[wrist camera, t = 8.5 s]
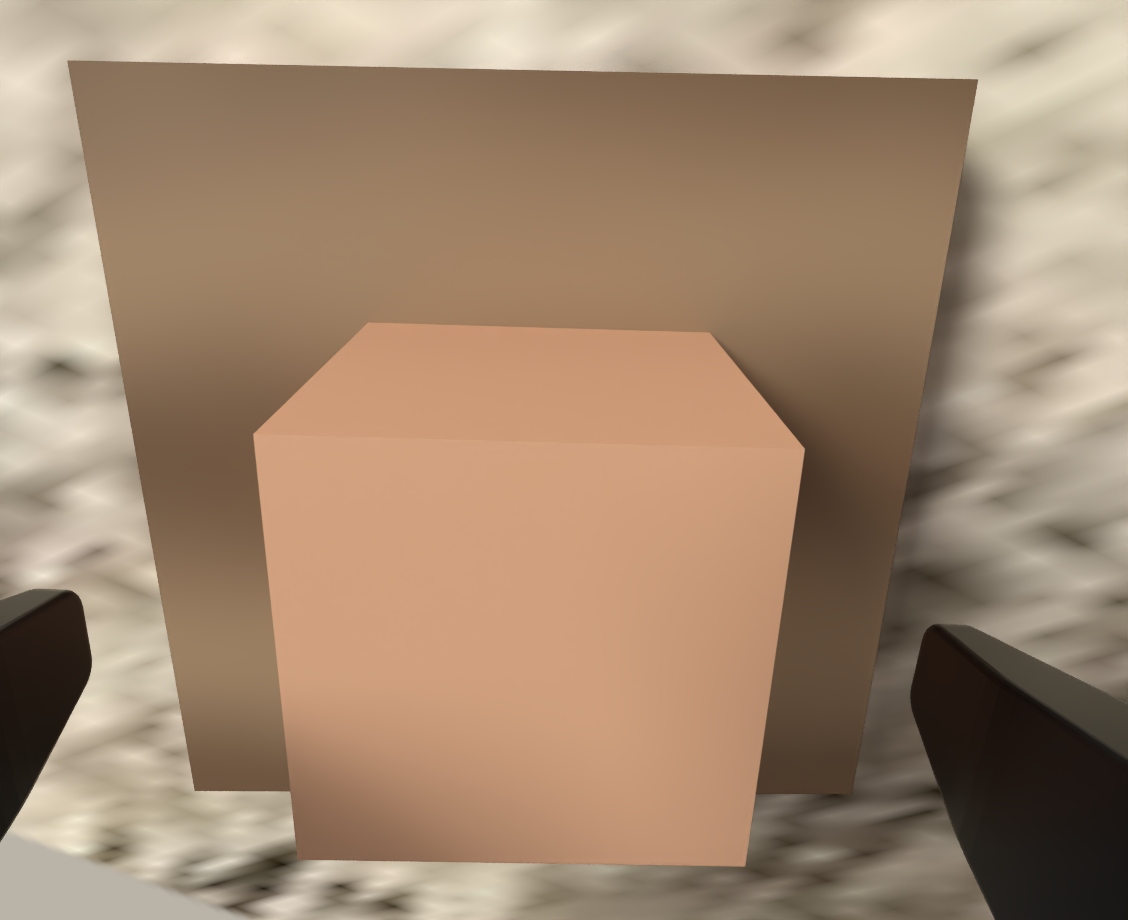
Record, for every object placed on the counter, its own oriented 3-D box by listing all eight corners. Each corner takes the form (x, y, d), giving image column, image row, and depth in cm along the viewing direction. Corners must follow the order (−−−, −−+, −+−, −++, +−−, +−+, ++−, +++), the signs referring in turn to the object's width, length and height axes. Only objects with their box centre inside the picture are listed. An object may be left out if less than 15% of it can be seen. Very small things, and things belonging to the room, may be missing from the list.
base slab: (805, 693, 18) (851, 794, 15) (250, 689, 18) (194, 790, 15) (892, 92, 14) (977, 79, 11) (166, 77, 14) (67, 60, 11)
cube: (681, 626, 14) (745, 866, 9) (383, 619, 14) (297, 860, 9) (710, 332, 12) (805, 449, 8) (368, 322, 12) (253, 434, 8)
